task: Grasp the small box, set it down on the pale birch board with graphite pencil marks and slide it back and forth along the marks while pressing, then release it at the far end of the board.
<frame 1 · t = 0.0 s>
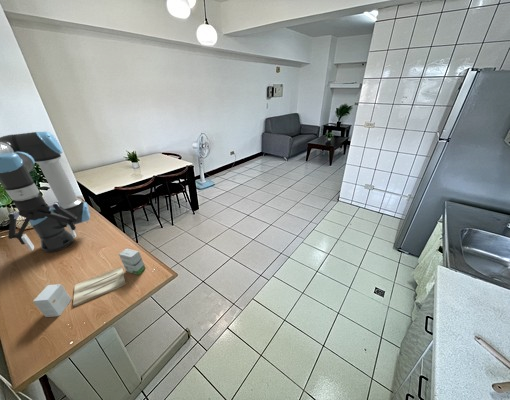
hand: (54, 242, 87), 28 cm above the table, fingers open, 13 cm apart
small box: (59, 308, 92), on the table
ink box: (136, 270, 110), on the table
board: (100, 285, 102), on the table
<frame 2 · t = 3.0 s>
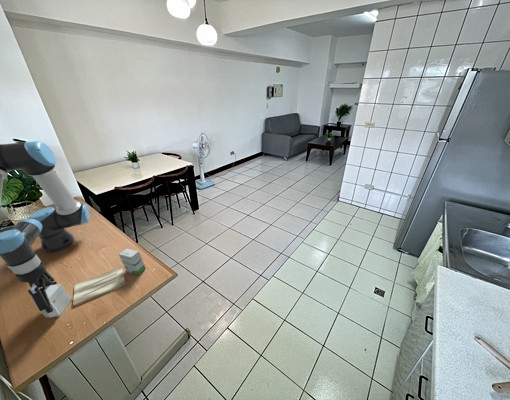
hand: (56, 305, 91), 2 cm above the table, fingers closed on small box, 9 cm apart
small box: (59, 309, 92), on the table, touching gripper
everything else where it was.
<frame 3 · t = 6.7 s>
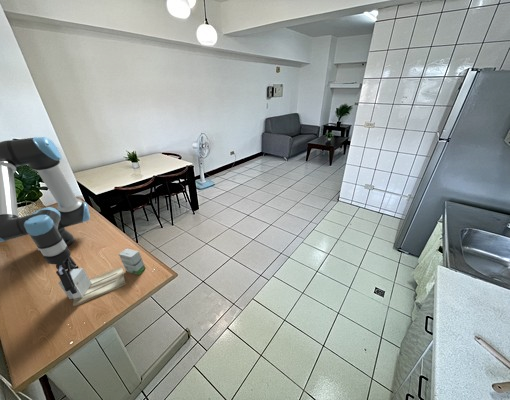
hand: (78, 288, 97), 3 cm above the table, fingers closed on small box, 9 cm apart
small box: (81, 291, 98), point 1 cm above the table, touching board, gripper
everything else where it was.
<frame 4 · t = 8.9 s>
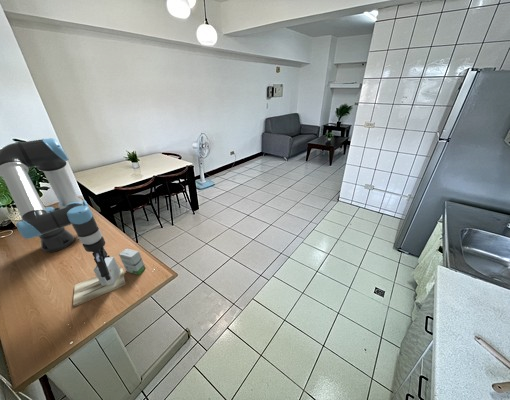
hand: (110, 276, 103), 3 cm above the table, fingers closed on small box, 9 cm apart
small box: (111, 279, 104), point 1 cm above the table, touching gripper
everything else where it was.
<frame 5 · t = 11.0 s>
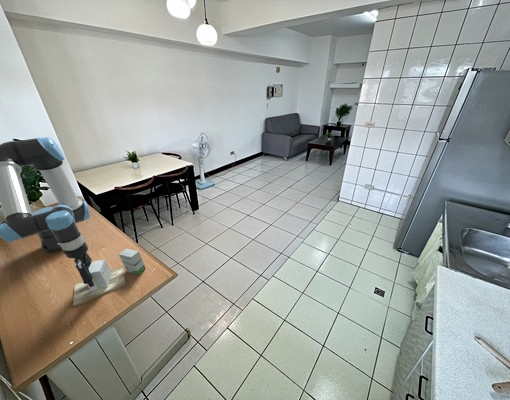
hand: (94, 282, 100), 3 cm above the table, fingers open, 9 cm apart
small box: (104, 282, 102), point 1 cm above the table, touching board
everything else where it was.
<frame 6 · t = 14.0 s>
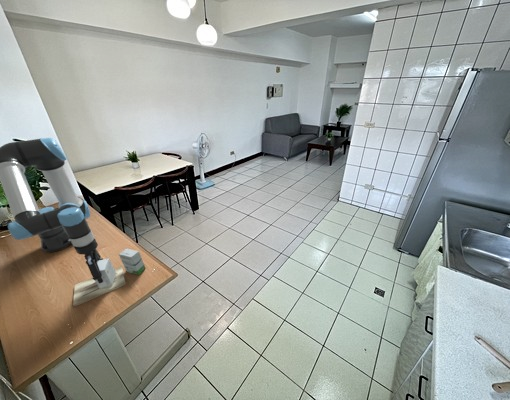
hand: (103, 279, 101), 3 cm above the table, fingers open, 9 cm apart
small box: (108, 281, 103), point 1 cm above the table, touching board, gripper
everything else where it was.
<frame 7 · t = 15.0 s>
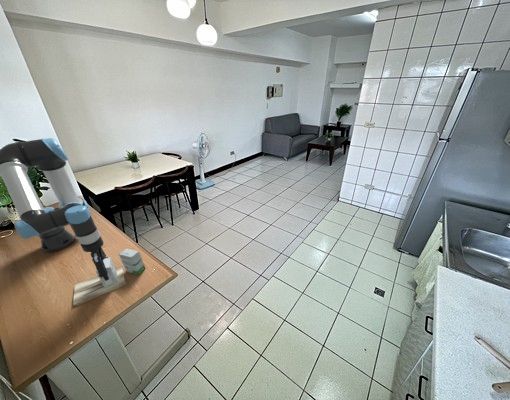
hand: (109, 277, 102), 3 cm above the table, fingers open, 8 cm apart
small box: (111, 280, 103), point 1 cm above the table, touching board, gripper
everything else where it was.
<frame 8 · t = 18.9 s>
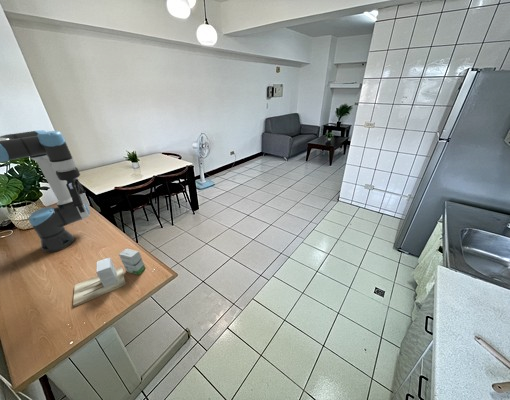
hand: (86, 211, 102), 32 cm above the table, fingers open, 13 cm apart
small box: (111, 280, 103), point 1 cm above the table, touching board
everything else where it was.
at the end: small box inside the target area (0.6 cm from its centre), point 1.0 cm above the table; small box touching board; small box tilted 0° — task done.
